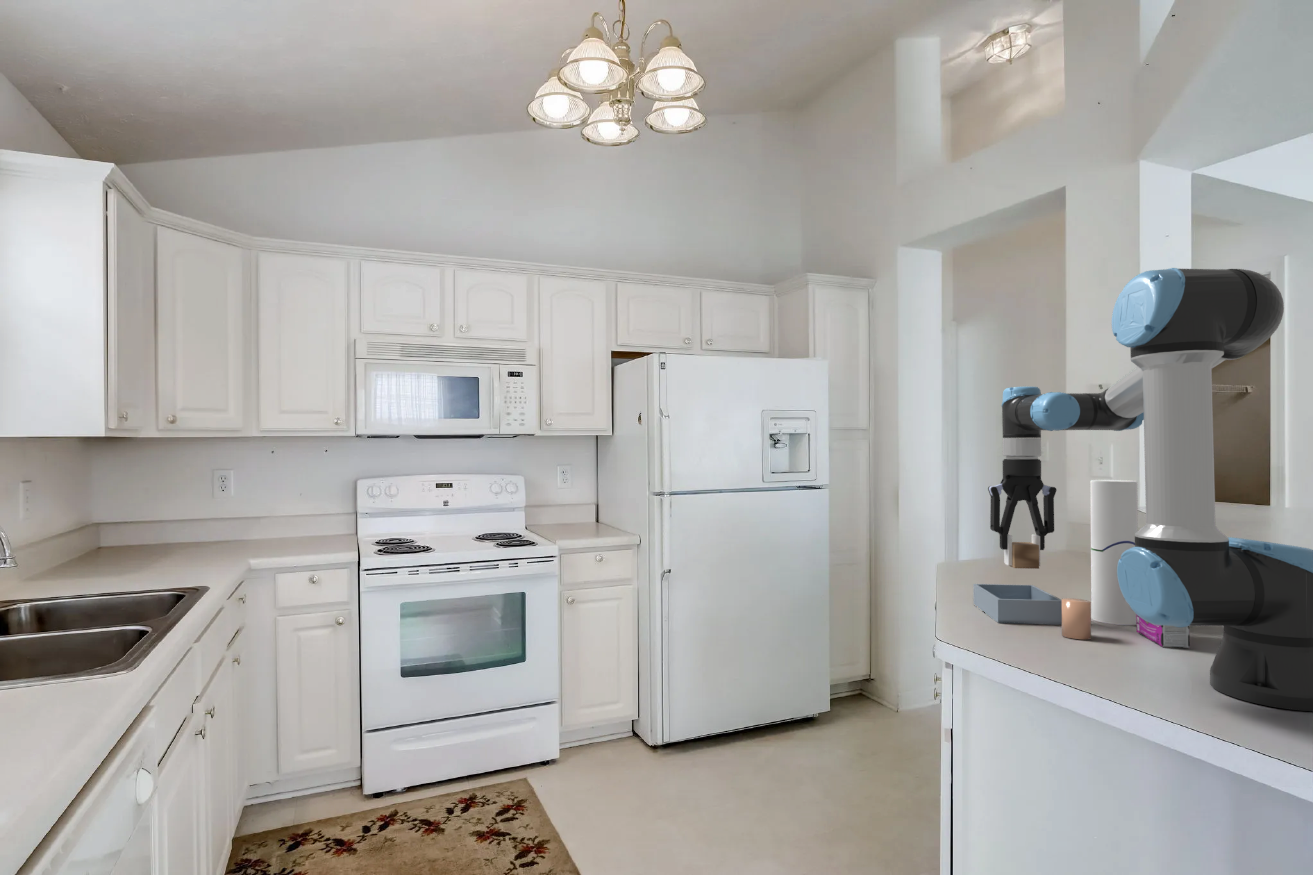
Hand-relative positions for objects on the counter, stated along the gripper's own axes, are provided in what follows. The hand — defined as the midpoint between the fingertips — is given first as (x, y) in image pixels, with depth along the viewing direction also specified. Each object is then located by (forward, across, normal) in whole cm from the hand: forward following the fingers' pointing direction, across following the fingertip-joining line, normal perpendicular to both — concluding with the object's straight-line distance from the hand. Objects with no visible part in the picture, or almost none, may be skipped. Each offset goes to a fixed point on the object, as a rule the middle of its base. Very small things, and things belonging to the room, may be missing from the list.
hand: (1022, 564), depth 157 cm
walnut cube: (0, 0, 0) cm, 0 cm away
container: (+12, -19, -1) cm, 23 cm away
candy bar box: (+12, -20, +15) cm, 28 cm away
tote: (+12, 0, -4) cm, 12 cm away
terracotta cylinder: (+12, -5, +14) cm, 19 cm away
